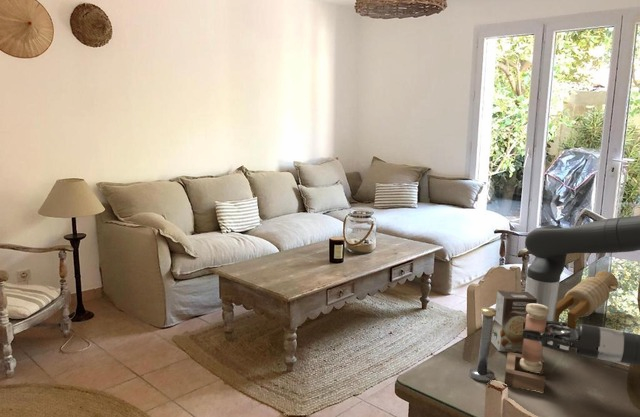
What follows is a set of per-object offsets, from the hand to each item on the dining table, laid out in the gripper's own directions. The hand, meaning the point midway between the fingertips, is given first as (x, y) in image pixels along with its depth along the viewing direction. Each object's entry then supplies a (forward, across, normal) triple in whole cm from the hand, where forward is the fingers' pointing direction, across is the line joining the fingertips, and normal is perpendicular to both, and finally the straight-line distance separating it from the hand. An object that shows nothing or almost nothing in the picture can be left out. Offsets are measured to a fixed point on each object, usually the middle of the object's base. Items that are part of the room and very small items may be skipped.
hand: (523, 329), depth 129 cm
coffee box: (+3, -17, +13) cm, 22 cm away
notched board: (-1, 0, +13) cm, 13 cm away
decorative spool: (-19, -54, +13) cm, 59 cm away
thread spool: (-3, 0, +10) cm, 10 cm away
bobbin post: (+9, +4, +13) cm, 16 cm away
